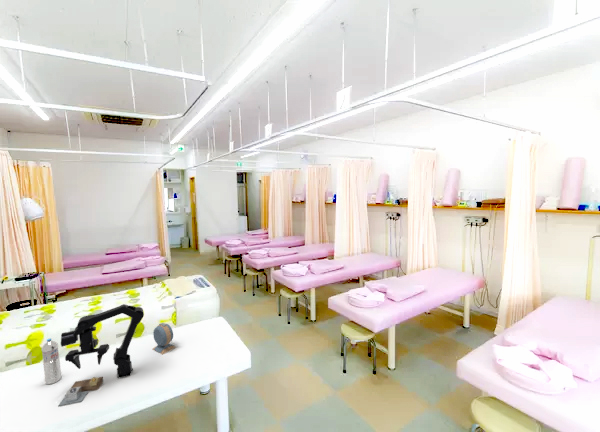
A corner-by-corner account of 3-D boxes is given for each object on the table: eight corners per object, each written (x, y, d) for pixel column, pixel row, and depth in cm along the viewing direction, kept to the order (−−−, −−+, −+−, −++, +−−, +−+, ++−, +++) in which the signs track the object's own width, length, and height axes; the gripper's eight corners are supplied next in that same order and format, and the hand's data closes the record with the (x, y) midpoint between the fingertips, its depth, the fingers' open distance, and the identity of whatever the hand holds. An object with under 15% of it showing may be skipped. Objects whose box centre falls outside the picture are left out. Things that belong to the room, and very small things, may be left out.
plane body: (103, 381, 155) (102, 376, 155) (98, 389, 149) (98, 383, 149) (75, 386, 151) (75, 381, 151) (70, 394, 146) (69, 389, 145)
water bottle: (47, 386, 152) (43, 343, 150) (43, 382, 156) (38, 340, 153) (63, 379, 158) (59, 338, 155) (59, 375, 161) (54, 334, 159)
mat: (88, 391, 147) (88, 390, 147) (81, 401, 140) (81, 400, 140) (66, 396, 145) (66, 394, 144) (58, 406, 137) (58, 405, 137)
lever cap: (81, 393, 145) (81, 385, 145) (77, 400, 141) (76, 391, 140) (70, 395, 144) (69, 387, 144) (65, 402, 139) (64, 394, 139)
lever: (98, 381, 151) (98, 375, 150) (96, 385, 148) (95, 379, 148) (92, 382, 150) (91, 376, 150) (89, 386, 147) (89, 380, 147)
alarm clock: (176, 347, 188) (175, 323, 186) (163, 355, 180) (161, 329, 178) (164, 342, 195) (163, 318, 194) (151, 348, 187) (149, 324, 186)
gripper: (111, 329, 161) (113, 354, 163) (72, 336, 155) (76, 361, 157) (104, 339, 150) (107, 365, 152) (63, 346, 145) (66, 374, 146)
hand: (89, 366), depth 152 cm, fingers open, 9 cm apart
